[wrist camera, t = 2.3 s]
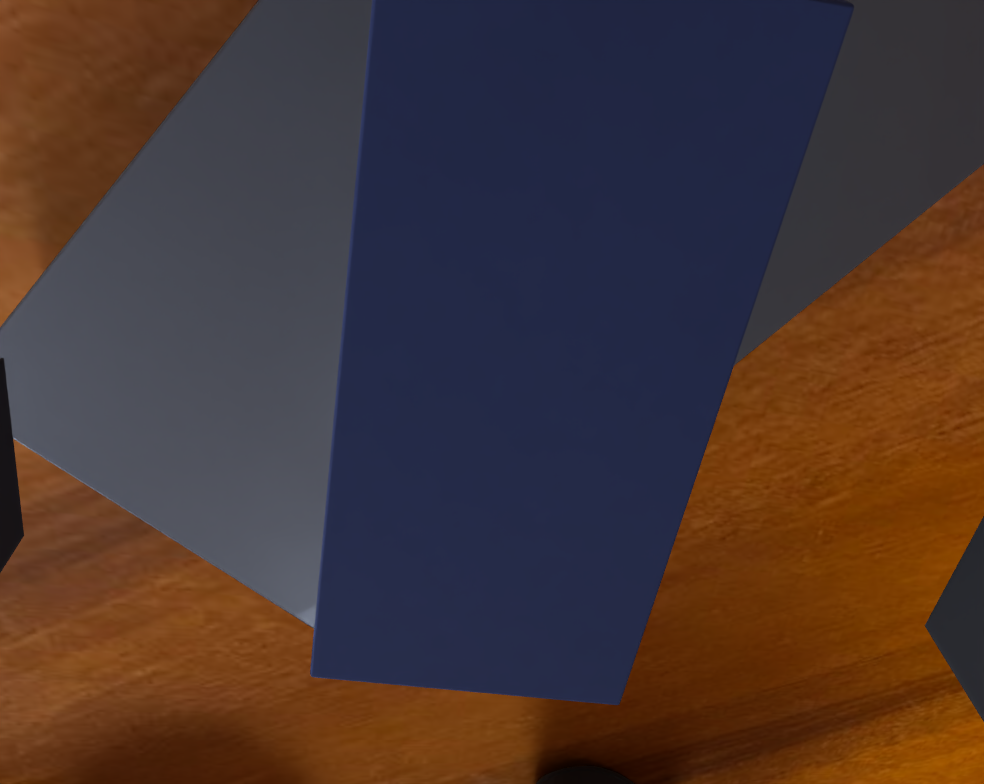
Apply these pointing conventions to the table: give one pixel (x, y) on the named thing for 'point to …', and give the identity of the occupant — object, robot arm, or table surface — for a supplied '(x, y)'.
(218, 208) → the shoe shelf
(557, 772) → the high-heeled shoe
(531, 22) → the navy block on base
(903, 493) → the table surface
